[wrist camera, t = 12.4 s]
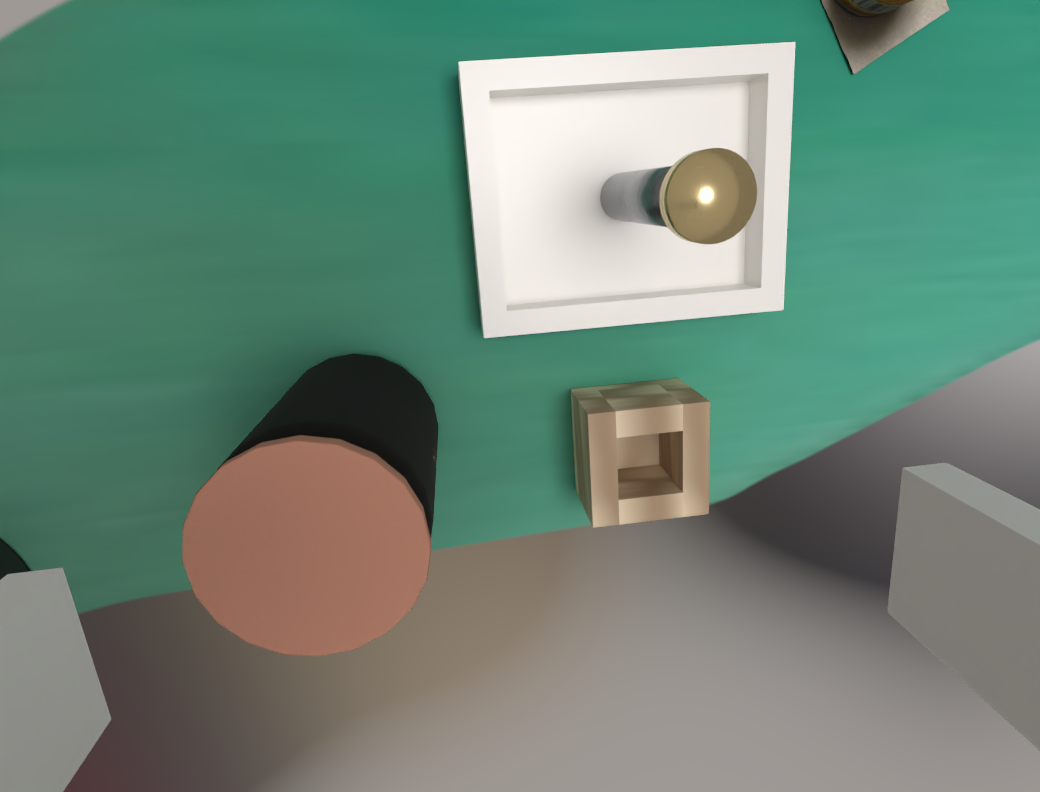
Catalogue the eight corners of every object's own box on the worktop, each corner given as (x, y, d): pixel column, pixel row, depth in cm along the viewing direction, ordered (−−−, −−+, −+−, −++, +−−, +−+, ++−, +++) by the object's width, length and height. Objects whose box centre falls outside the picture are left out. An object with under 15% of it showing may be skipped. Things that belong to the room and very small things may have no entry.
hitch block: (575, 490, 48) (592, 527, 42) (570, 389, 46) (587, 414, 40) (678, 478, 49) (708, 513, 43) (677, 378, 46) (710, 401, 41)
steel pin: (593, 230, 42) (667, 248, 28) (591, 166, 41) (668, 151, 27) (652, 226, 42) (754, 240, 28) (652, 162, 41) (759, 144, 27)
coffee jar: (354, 519, 47) (298, 698, 30) (251, 412, 44) (123, 540, 27) (468, 434, 46) (479, 568, 29) (372, 318, 43) (319, 389, 26)
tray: (481, 328, 44) (484, 338, 40) (457, 74, 39) (458, 61, 36) (758, 302, 45) (783, 310, 42) (767, 55, 41) (795, 41, 38)
